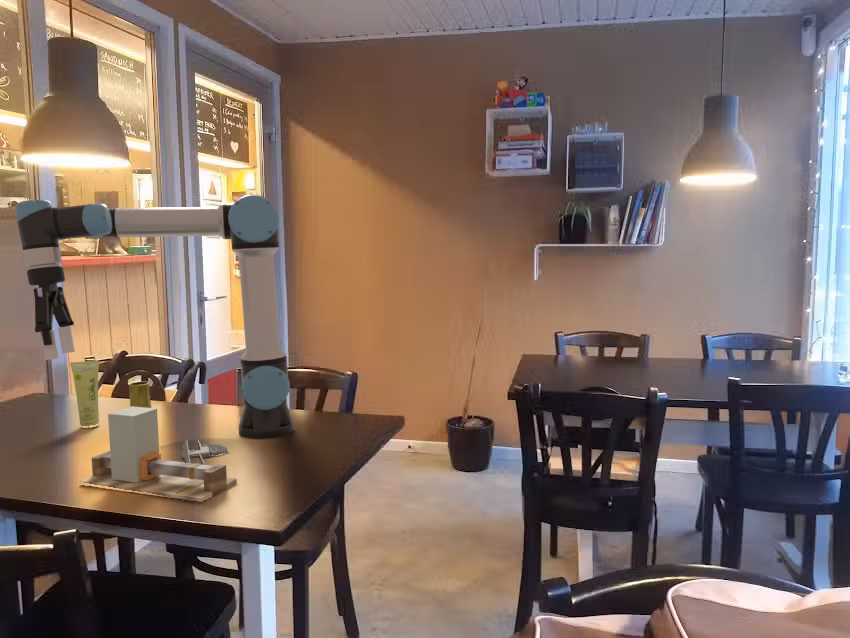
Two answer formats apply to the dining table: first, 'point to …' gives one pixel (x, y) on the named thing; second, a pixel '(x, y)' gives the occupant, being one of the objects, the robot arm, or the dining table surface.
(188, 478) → the rod stand
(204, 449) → the grey flat plane shape
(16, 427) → the dining table surface
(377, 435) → the dining table surface
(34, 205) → the robot arm
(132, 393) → the vase
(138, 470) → the sleeve
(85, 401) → the tube
